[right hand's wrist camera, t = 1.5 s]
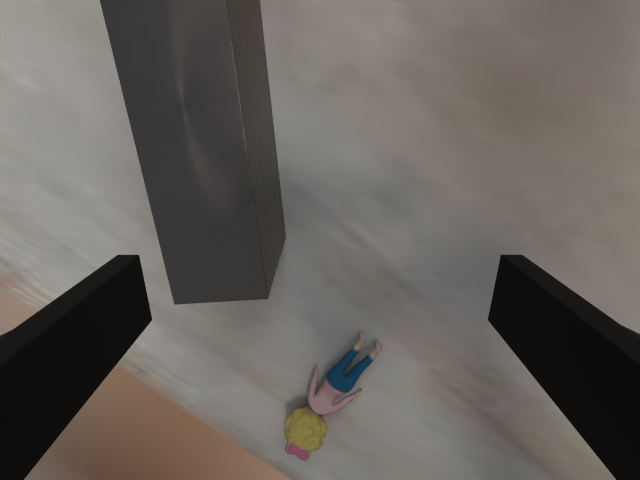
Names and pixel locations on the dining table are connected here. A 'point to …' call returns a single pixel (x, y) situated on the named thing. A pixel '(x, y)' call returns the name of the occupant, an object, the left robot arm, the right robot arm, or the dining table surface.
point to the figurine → (324, 402)
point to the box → (203, 140)
